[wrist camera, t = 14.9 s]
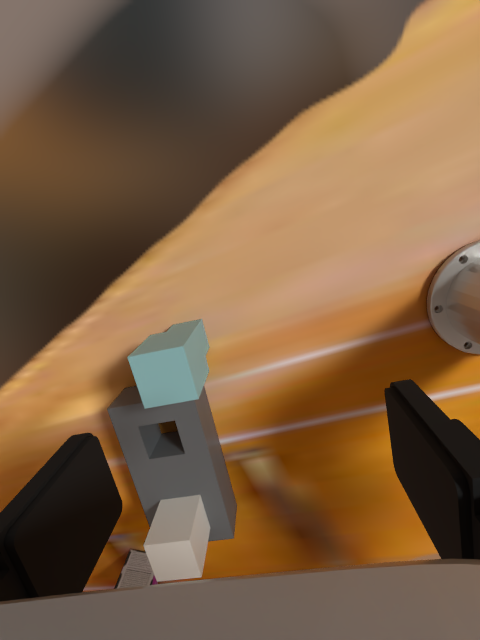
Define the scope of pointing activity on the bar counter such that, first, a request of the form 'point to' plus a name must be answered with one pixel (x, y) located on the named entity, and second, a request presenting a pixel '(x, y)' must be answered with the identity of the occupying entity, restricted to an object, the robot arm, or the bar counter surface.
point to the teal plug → (171, 365)
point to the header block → (176, 480)
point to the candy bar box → (136, 571)
